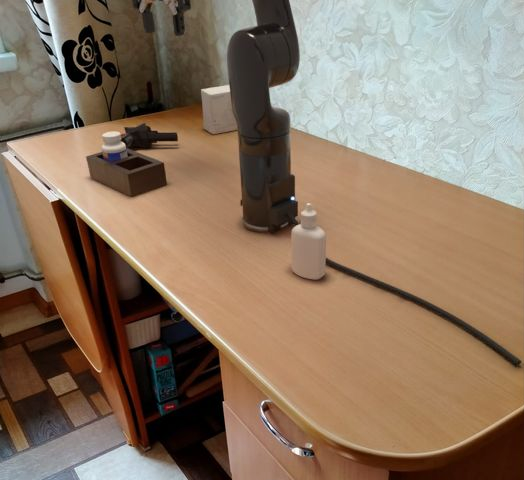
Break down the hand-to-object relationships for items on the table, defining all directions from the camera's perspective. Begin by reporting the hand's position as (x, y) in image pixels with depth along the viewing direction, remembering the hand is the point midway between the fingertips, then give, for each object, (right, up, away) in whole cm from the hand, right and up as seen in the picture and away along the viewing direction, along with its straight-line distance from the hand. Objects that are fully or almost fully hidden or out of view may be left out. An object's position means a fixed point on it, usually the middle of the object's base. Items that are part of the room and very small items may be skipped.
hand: (164, 33), depth 120 cm
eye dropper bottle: (+28, -54, -26) cm, 66 cm away
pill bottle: (-13, -26, +13) cm, 32 cm away
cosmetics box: (+10, -5, +39) cm, 41 cm away
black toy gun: (-8, -13, +30) cm, 34 cm away
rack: (-10, -28, +10) cm, 31 cm away
